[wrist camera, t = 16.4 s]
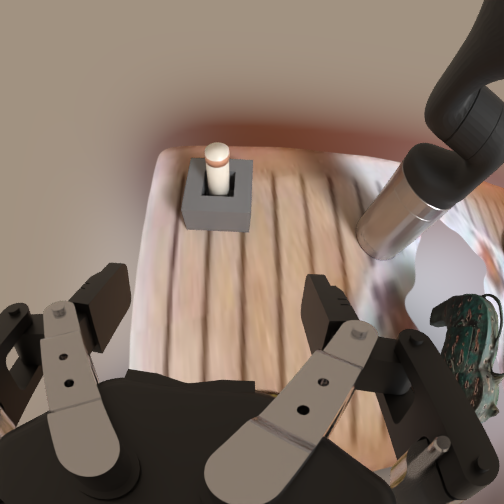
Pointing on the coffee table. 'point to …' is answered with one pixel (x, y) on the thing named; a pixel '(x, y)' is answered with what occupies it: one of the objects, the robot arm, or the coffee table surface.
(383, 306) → the coffee table surface
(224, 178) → the dowel
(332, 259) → the coffee table surface
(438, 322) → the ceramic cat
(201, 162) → the hole block
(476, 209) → the coffee table surface
